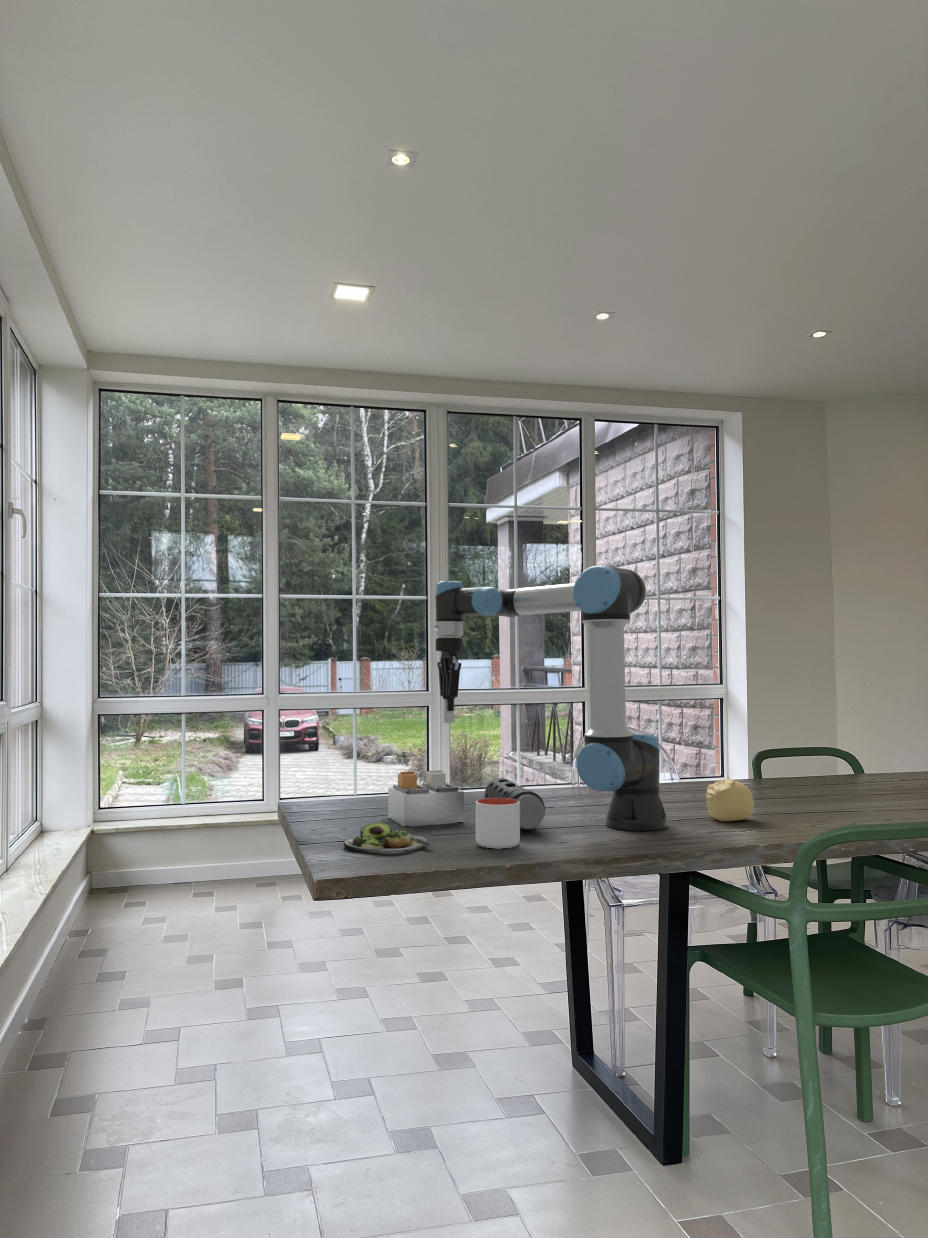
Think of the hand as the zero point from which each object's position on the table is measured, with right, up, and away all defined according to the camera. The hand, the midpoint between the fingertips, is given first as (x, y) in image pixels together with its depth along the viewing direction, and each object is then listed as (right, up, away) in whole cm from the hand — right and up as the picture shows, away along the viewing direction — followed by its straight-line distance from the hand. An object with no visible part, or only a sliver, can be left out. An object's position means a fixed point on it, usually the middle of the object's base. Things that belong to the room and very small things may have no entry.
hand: (448, 722), depth 254 cm
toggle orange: (-11, -16, -12) cm, 22 cm away
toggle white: (-3, -16, -9) cm, 18 cm away
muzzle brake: (+17, -24, -19) cm, 35 cm away
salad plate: (-14, -23, -45) cm, 53 cm away
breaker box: (-6, -24, -13) cm, 28 cm away
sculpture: (+74, -24, -13) cm, 79 cm away
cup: (+12, -23, -45) cm, 52 cm away
